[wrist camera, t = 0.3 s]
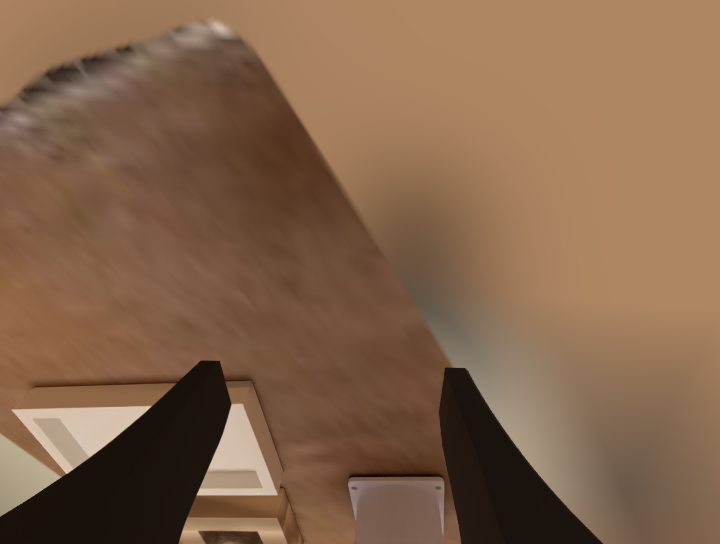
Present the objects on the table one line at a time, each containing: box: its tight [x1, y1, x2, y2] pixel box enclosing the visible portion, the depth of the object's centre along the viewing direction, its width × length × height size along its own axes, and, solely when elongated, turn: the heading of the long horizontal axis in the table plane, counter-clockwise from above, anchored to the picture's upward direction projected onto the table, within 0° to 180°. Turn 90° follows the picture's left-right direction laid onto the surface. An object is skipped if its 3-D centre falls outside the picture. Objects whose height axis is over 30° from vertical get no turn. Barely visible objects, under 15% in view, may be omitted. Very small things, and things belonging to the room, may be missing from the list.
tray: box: [12, 381, 284, 495], centre depth 30 cm, size 11×17×2 cm, turn 96°
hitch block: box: [180, 488, 304, 544], centre depth 36 cm, size 10×10×2 cm
